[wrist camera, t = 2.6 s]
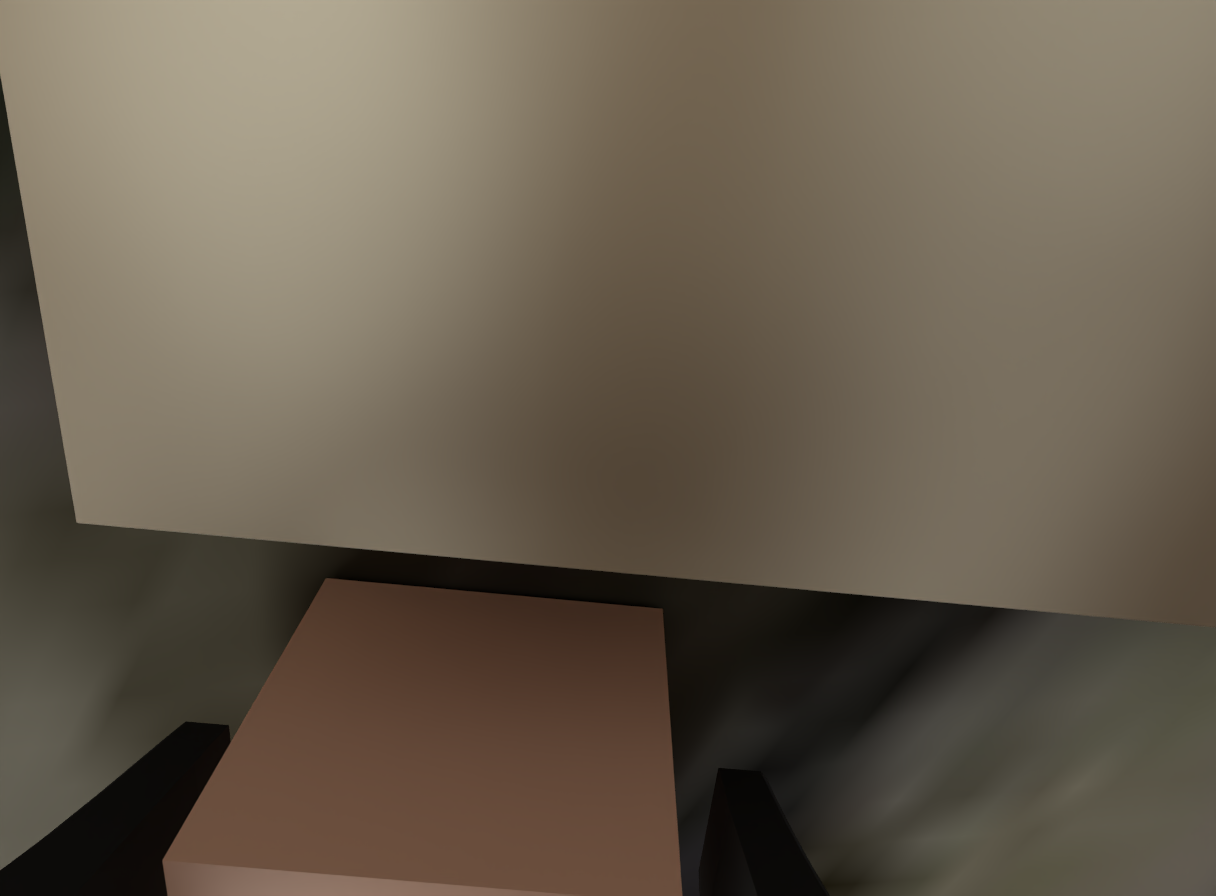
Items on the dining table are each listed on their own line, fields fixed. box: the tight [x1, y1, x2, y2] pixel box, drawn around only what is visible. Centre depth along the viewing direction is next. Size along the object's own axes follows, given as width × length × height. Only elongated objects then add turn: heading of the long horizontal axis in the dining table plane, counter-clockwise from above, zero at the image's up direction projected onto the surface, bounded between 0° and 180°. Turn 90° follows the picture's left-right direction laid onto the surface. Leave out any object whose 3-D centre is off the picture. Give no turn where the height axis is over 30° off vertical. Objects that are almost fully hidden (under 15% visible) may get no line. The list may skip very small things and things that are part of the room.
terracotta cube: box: [162, 578, 682, 896], centre depth 12 cm, size 5×5×5 cm
